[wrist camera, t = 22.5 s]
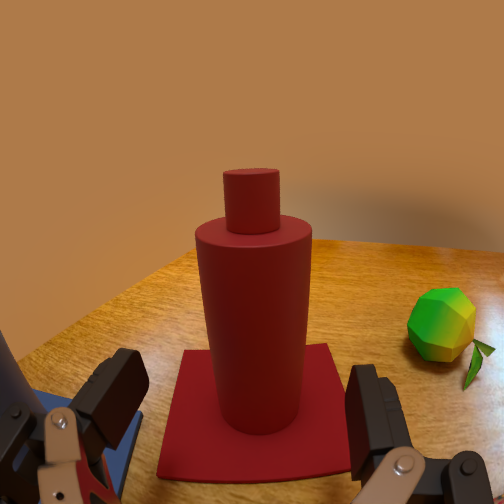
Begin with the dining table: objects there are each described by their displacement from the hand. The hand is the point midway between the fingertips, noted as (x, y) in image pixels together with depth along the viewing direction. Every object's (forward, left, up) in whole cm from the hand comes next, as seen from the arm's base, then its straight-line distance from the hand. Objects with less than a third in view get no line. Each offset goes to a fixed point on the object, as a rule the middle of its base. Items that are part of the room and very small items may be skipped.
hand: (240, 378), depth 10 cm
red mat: (+1, +5, -8) cm, 10 cm away
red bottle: (+1, +5, -8) cm, 9 cm away
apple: (+17, +7, -8) cm, 20 cm away
